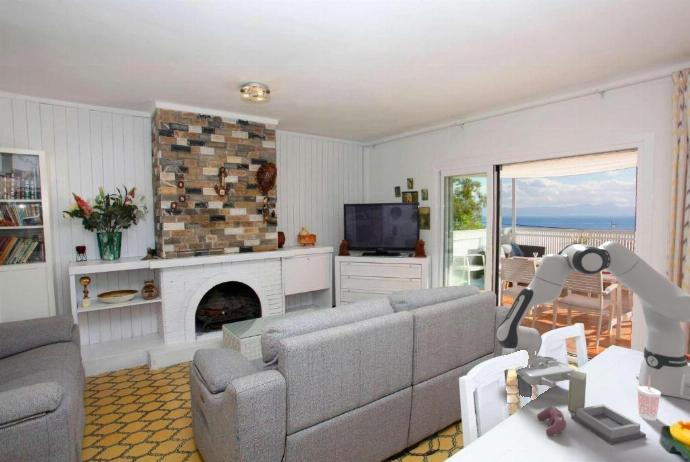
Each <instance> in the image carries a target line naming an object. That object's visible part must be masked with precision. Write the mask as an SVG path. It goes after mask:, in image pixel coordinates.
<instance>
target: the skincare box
mask: <svg viewBox="0 0 690 462" xmlns="http://www.w3.org/2000/svg"><path fill="white" fill-rule="evenodd" d="M574 370H575V369H574ZM574 370H572V371H571V374H570V380H568V398H567V399H568V401H567V402H568V403H567V411H570V412H572V413H575V414H577V409H579V408H585V406H586V404H585V403H586V388H587V387H586V385H587V373H586V372H581V371H578V370H575V371H574Z"/></svg>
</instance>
